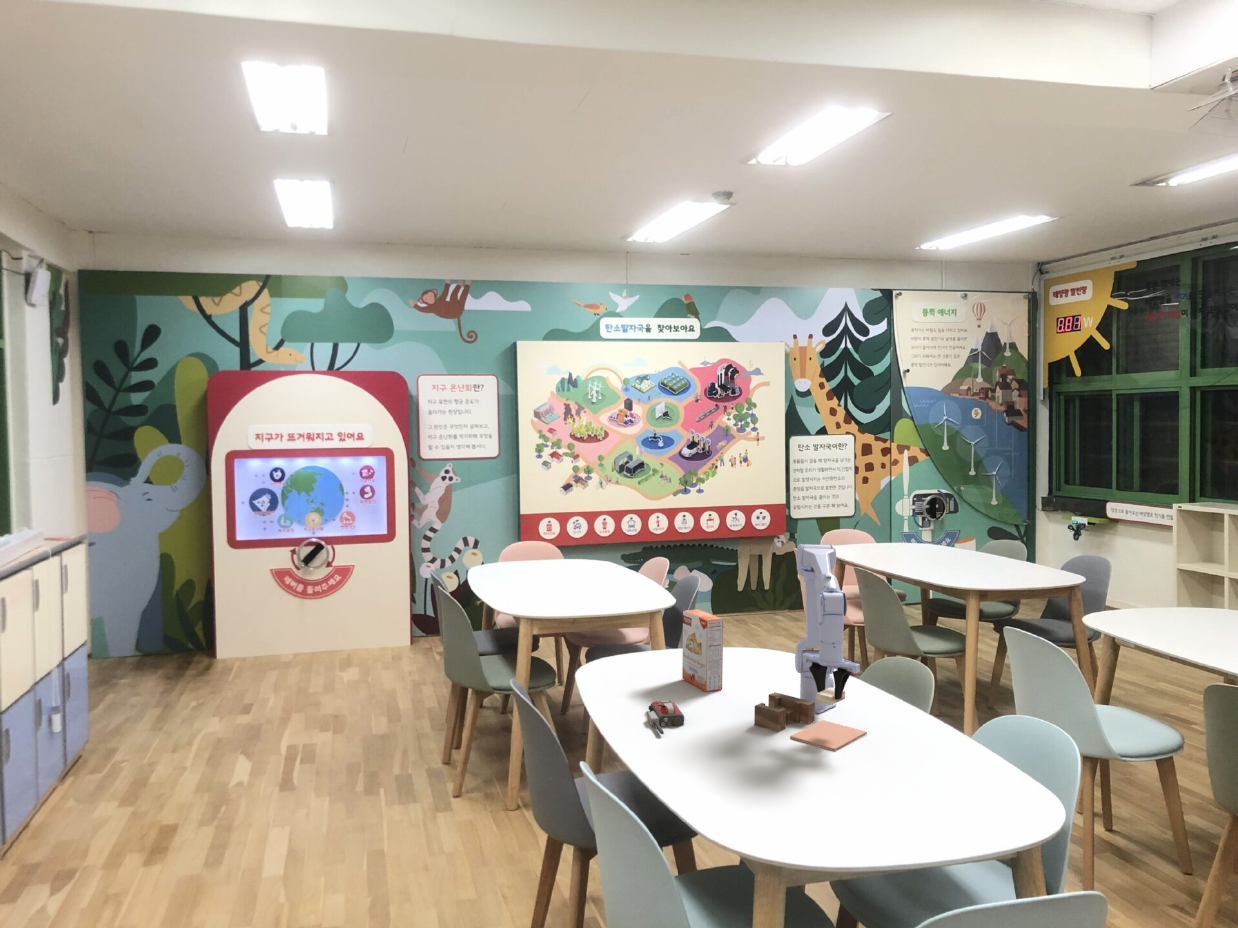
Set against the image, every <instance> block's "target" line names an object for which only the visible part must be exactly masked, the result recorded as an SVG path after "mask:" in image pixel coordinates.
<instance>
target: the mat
mask: <svg viewBox="0 0 1238 928" xmlns="http://www.w3.org/2000/svg"><path fill="white" fill-rule="evenodd" d="M865 734H866V735H867V734H868V731H866V730H862V729H858V728H854V727H851V726H847V725H843V724H840V723H836V722H831V721H828V720H824V719H823V720H821V721H819V722H816V723H814V724H812V725H810V726H807V727H806V728H804V729H802V730H800V731H798V732H796V733H794V734H791V735H790V737H789V739H791V740H795V741H798V742H801V743H806V744H808V745H811V746H815V747H818V748H819V747H820V748H822V749H825V748H826V749H825V750H829V751H832V752H836V750H837V751H838V750H840V749H842V748H844V747H845V745H846V746H848V745H849V744H851V743H854V742H855V741H857V740H859V739H860V737H861V738H862V737H864V736H866V735H865ZM858 738H859V739H858Z"/></svg>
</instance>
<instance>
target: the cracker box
mask: <svg viewBox="0 0 1238 928" xmlns="http://www.w3.org/2000/svg"><path fill="white" fill-rule="evenodd" d="M723 652H724V618H721V617H720V616H716V615H715V614H712V613H709V612H707V611H704V610H703V609H698V608H697V609H688V610H687V609H686V610H683V611H682V662H681V663H682V669H681V670H682V673H681V674H682V676H681V677H682V678H681V679H682V680H684V681H686V682H688V683H689V684H691V685H693V686H695V687H697V688H698V689H700V690H701V691H704V692H705V693H708V692H714V691H721V690H723V671H724V670H723V668H724V667H723V663H724V661H723V660H724V659H723V656H724V654H723Z"/></svg>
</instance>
